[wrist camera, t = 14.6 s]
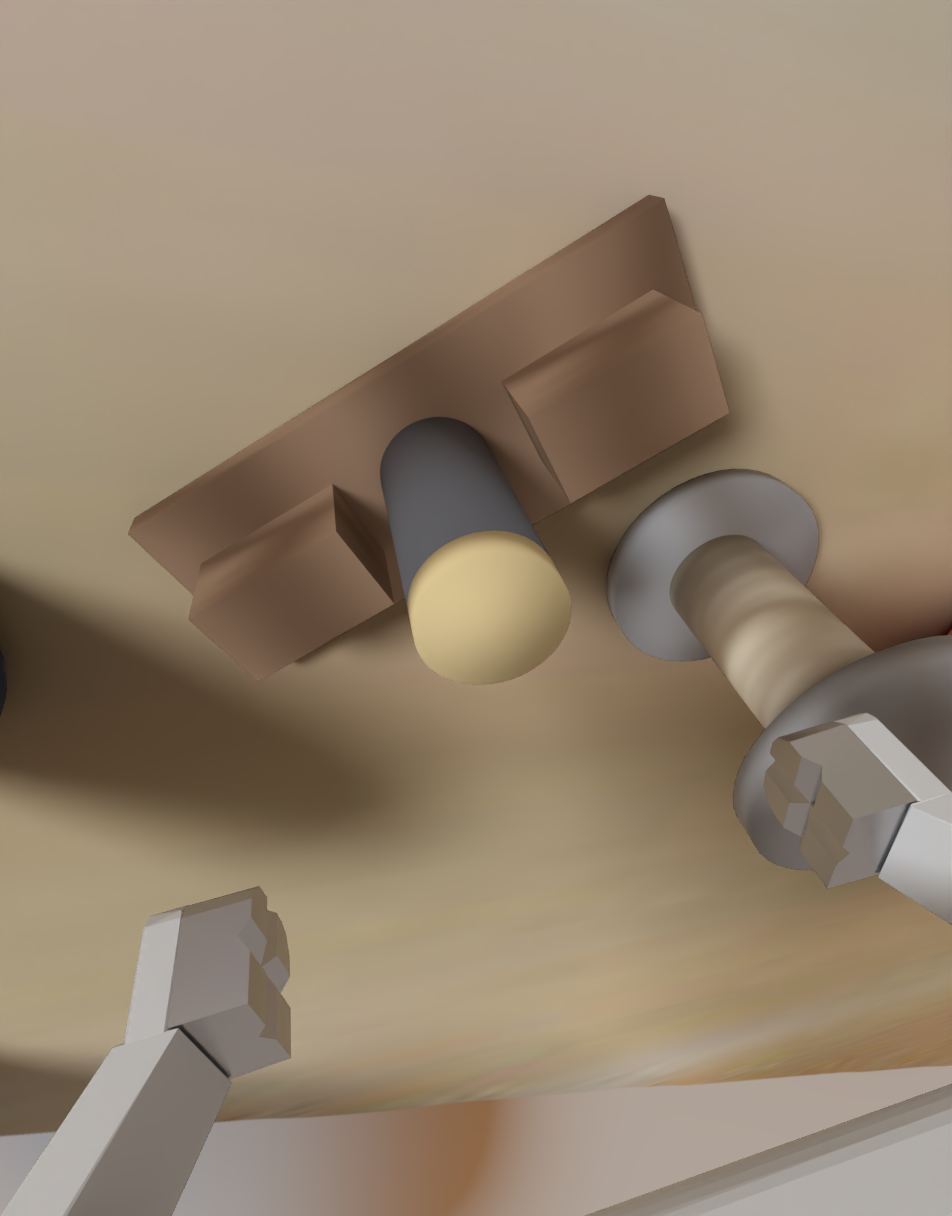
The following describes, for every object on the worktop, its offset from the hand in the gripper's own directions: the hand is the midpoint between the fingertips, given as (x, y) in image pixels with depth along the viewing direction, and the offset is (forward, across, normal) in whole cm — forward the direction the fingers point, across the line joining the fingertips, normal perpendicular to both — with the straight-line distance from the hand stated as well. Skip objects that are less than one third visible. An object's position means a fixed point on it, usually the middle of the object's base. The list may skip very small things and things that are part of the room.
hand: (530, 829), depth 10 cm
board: (+14, -1, 0) cm, 14 cm away
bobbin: (+14, -11, +7) cm, 19 cm away
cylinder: (+13, -1, 0) cm, 13 cm away
